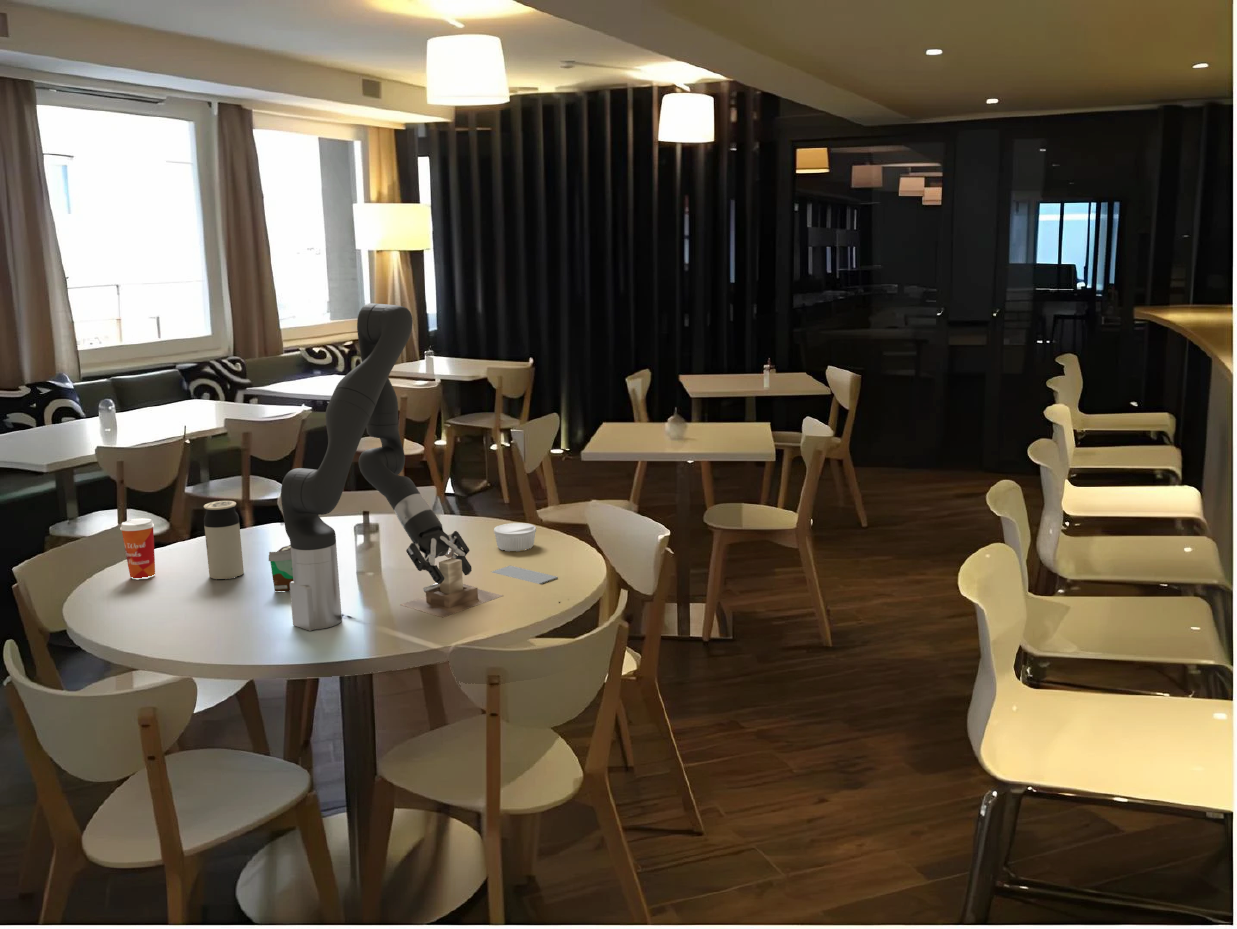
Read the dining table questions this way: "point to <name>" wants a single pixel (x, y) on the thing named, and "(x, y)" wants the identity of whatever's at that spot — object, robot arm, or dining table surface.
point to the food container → (281, 568)
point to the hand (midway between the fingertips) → (455, 577)
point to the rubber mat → (525, 574)
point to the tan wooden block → (451, 575)
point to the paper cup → (139, 547)
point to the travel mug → (223, 540)
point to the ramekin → (515, 536)
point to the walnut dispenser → (450, 600)
